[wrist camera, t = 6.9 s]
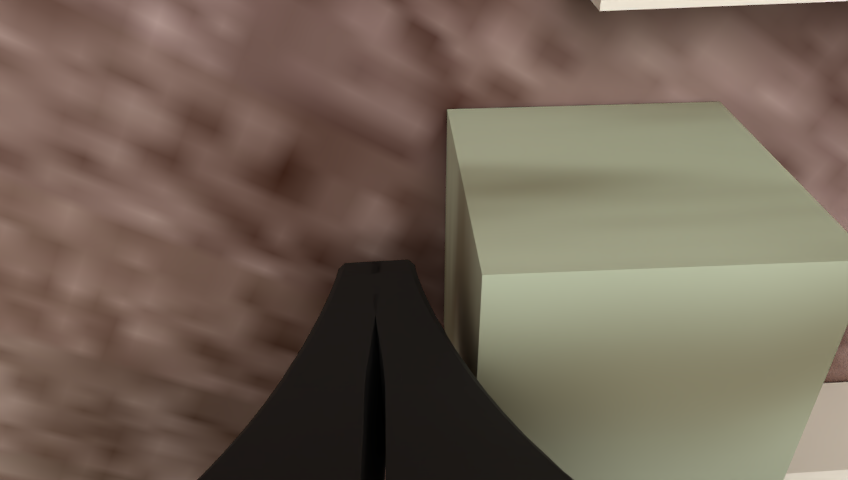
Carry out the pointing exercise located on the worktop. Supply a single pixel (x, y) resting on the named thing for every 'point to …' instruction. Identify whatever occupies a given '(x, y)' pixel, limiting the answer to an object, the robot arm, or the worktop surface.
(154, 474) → the worktop surface
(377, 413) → the robot arm
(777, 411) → the block
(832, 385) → the block
